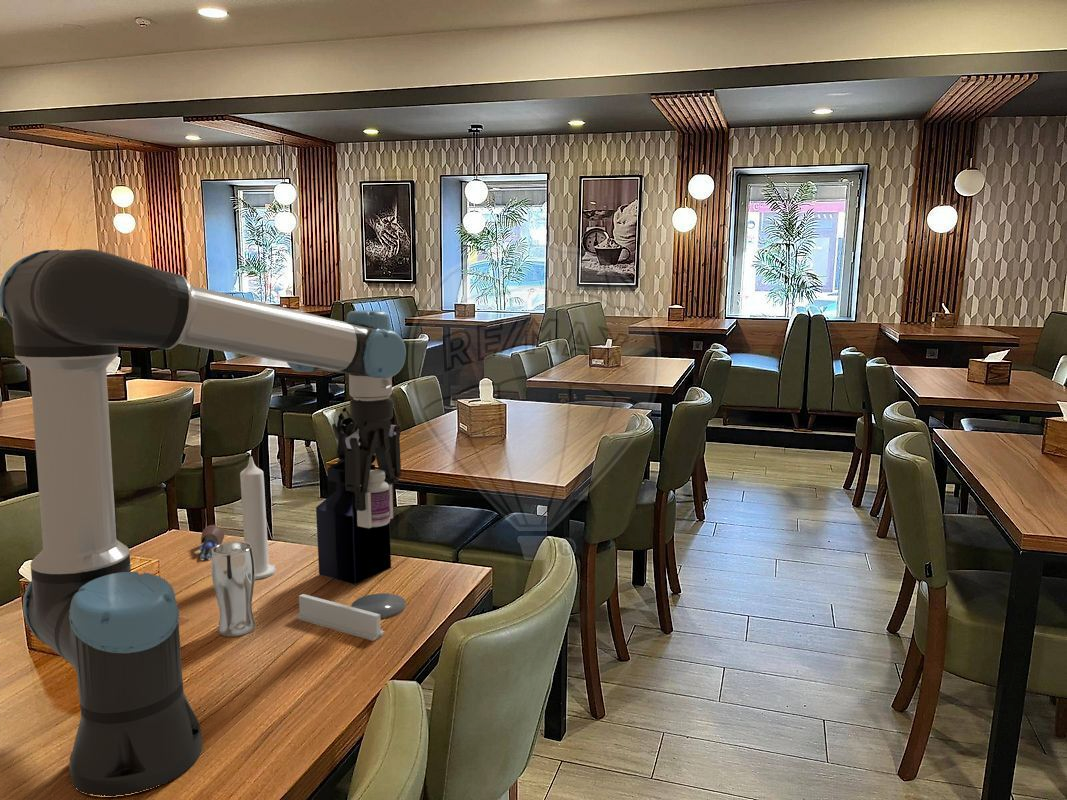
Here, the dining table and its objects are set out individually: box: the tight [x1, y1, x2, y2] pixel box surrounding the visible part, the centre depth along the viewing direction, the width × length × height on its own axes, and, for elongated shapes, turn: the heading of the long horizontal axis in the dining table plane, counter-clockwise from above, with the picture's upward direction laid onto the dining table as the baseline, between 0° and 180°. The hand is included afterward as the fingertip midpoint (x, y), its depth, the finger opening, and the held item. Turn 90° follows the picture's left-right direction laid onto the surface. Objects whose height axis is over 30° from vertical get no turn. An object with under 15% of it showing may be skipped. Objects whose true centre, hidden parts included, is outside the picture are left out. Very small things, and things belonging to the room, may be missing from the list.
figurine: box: [193, 524, 225, 560], centre depth 175 cm, size 6×5×12 cm
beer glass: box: [210, 540, 256, 638], centre depth 135 cm, size 7×7×15 cm
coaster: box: [350, 592, 407, 620], centre depth 146 cm, size 10×10×1 cm
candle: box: [239, 456, 277, 580], centre depth 160 cm, size 7×7×25 cm
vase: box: [315, 407, 392, 586], centre depth 162 cm, size 14×12×35 cm
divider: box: [295, 593, 386, 642], centre depth 137 cm, size 3×18×4 cm, turn 62°
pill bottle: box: [367, 469, 391, 527], centre depth 142 cm, size 5×5×10 cm
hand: (375, 521), depth 143 cm, fingers closed on pill bottle, 5 cm apart
